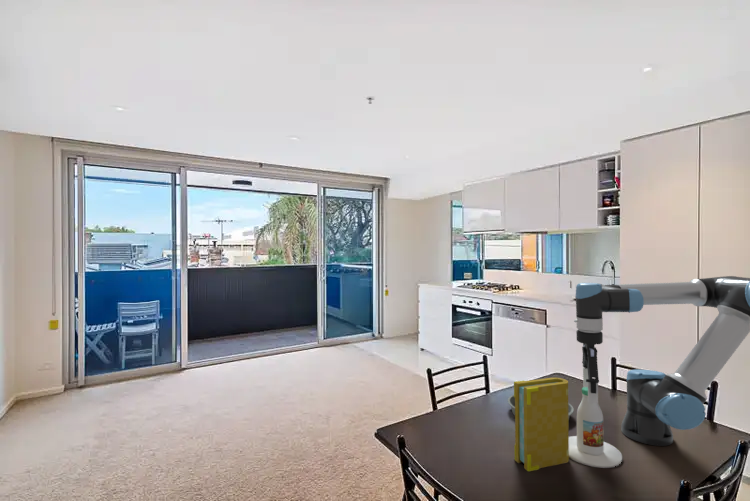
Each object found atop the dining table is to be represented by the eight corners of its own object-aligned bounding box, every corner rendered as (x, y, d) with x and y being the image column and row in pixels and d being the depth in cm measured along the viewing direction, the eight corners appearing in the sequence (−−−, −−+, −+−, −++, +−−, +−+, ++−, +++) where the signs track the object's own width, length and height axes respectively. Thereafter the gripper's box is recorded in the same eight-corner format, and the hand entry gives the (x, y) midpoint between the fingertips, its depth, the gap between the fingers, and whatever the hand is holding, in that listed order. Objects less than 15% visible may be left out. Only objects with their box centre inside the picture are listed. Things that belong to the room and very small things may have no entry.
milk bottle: (573, 450, 128) (573, 389, 128) (581, 441, 134) (580, 383, 133) (599, 458, 123) (599, 395, 123) (606, 449, 128) (606, 388, 128)
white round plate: (616, 444, 133) (616, 441, 133) (627, 472, 117) (627, 469, 117) (558, 435, 140) (558, 432, 140) (561, 460, 124) (561, 457, 124)
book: (528, 471, 118) (527, 389, 118) (514, 459, 125) (513, 381, 124) (574, 462, 123) (573, 383, 123) (558, 451, 129) (557, 376, 129)
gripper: (573, 322, 141) (574, 381, 141) (580, 337, 118) (581, 407, 118) (596, 323, 138) (597, 383, 138) (608, 339, 115) (610, 411, 115)
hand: (590, 394), depth 128 cm, fingers open, 13 cm apart
